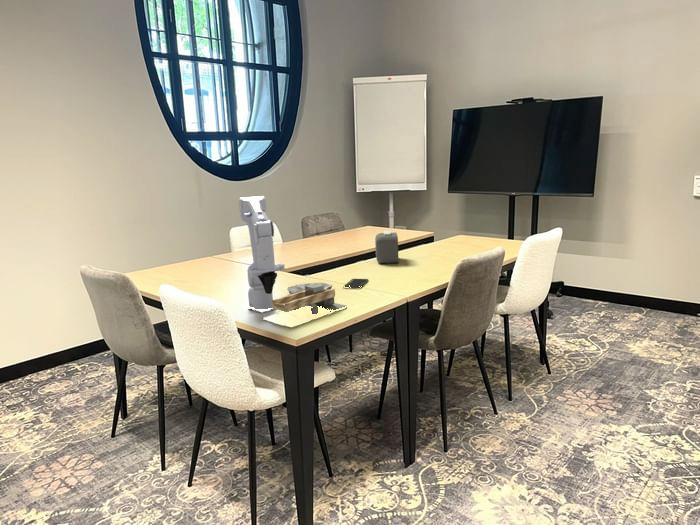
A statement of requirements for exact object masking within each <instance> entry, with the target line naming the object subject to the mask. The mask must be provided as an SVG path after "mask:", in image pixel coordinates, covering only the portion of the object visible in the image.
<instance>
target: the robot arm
mask: <svg viewBox="0 0 700 525" xmlns="http://www.w3.org/2000/svg"><path fill="white" fill-rule="evenodd" d="M238 208H239V213H240V218H241V221H243V222H245V223H246V225H247V227H248V233H249V240H250V248H251V253H252V254H251V255H252V261H253V262H252V263H251V264H249V266H248V268H247V281H248V286H249V289H248V292H247V293H248V294H247V296H248V306H250V307H254V308H255V309H268V308H272V300H274V299H273V298H274V296H273V289H274V285H275V284H276V279H277V277H278V273H277V272H279V271H284V270H285V264H283V263H279V264H275V253H274V240H273V237H275V229H274V228H275V227H274V223H273V220H272V219H269V217H268V215H267V213H266V212H267V211H266V210H267V200H266V197H265V196H264V195H260V196H258V195H257V196H246V197H242V196H240V197H239V198H238Z"/></svg>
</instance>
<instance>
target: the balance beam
mask: <svg viewBox="0 0 700 525" xmlns="http://www.w3.org/2000/svg"><path fill="white" fill-rule="evenodd" d="M335 297H336V290H335V288H331V289H330V290H327V289H324V291H323V292H320V293H317V294H314V295H310V296H307V297H306V296H305V291H302V292H298V293H295V294H289V295H286V296H282V297H279V298H274V299H273V300H272V308H273V309H274V310H277V311H284V312H289V311H292V310H295V309H298V308H301V307H305V306H311V307H315V308H316V307H317V305H318V306H323V307H327V306H330V305H333V304H334V303H335Z"/></svg>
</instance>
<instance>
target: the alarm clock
mask: <svg viewBox="0 0 700 525" xmlns="http://www.w3.org/2000/svg"><path fill="white" fill-rule="evenodd" d="M374 239H375V258H376V261H377V263H379V264H381V263H385V264H399V236H398V233H397V232H391V231H390V230H384V231H383V232H380V233H377V234H376V235H375V238H374Z"/></svg>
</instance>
